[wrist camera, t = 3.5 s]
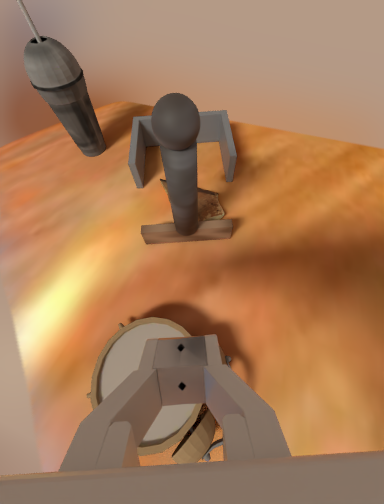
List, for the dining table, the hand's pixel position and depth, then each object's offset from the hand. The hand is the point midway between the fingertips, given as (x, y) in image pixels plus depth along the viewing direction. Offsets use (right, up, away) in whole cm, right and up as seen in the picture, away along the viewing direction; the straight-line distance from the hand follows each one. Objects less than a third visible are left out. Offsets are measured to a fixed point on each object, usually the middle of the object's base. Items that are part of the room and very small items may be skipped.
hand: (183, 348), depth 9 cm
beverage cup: (-18, +24, +31) cm, 44 cm away
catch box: (-1, +21, +29) cm, 35 cm away
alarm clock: (-2, -10, +14) cm, 17 cm away
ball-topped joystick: (0, +6, +21) cm, 22 cm away
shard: (-1, +11, +24) cm, 27 cm away
